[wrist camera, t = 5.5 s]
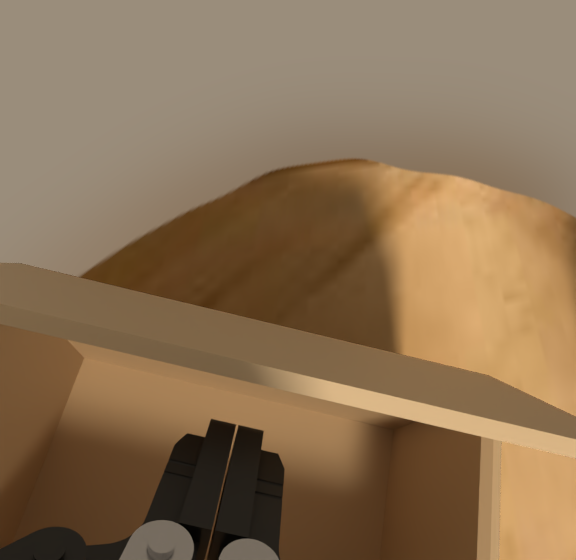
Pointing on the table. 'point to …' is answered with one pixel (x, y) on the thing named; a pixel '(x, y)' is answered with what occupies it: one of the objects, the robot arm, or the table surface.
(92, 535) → the carton
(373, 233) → the table surface
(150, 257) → the table surface
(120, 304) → the carton flap
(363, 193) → the table surface
